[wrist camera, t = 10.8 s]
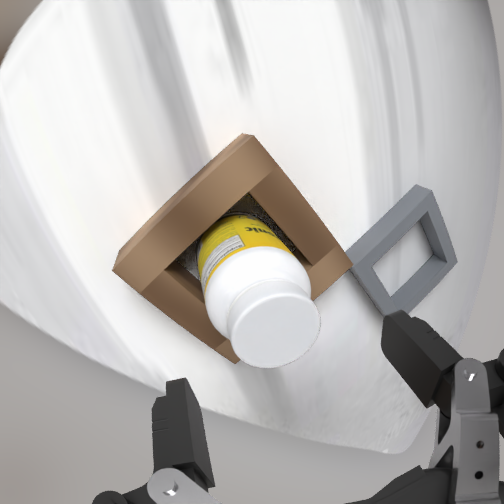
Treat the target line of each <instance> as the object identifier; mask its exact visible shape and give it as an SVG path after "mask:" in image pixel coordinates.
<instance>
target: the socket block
mask: <svg viewBox="0 0 504 504" xmlns="http://www.w3.org/2000/svg"><path fill="white" fill-rule="evenodd" d="M246 193H249V194H250V195H251V196H252V197H253V199H254V200H255V201H256V202H257V203H258V204H259V205H260V207H261V208H262V209H263V210H264V211H265V212H266V213H267V214H268V216H269V217H270V218H271V219H272V220H273V221H274V223H275V224H276V225H277V226H278V227H279V228H280V229H281V231H282V232H283V233H284V234H285V235H286V236H287V238H288V239H289V240H290V241H291V242H292V243H293V244H294V246H295V247H296V248H297V249H296V250H295V251H293V252H292V254H293V255H294V256H295V257H296V258H297V259H298V261H299V262H300V263H301V265H302V266H303V267H304V269H305V270H306V272H307V274H308V277H309V280H310V285H311V300H312V301H313V300H315V299H316V298H317V297H318V296H319V295H320V294H321V293H323V292H324V291H325V290H326V289H327V288H328V287H329V286H331V285H332V284H333V283H334V282H335V281H336V280H337V279H339V278H340V277H341V276H342V275H343V274H344V273H345V272H346V271H347V270H348V269H350V268H351V267H352V266H353V263H352V262H351V260H350V259H349V257H348V256H347V255H346V253H345V252H344V250H343V249H342V248H341V246H340V245H339V244H338V242H337V241H336V239H335V238H334V237H333V235H332V234H331V233H330V231H329V230H328V229H327V227H326V226H325V224H324V223H323V222H322V220H321V219H320V218H319V216H318V215H317V214H316V213H315V211H314V210H313V209H312V207H311V206H310V205H309V203H308V202H307V201H306V199H305V198H304V197H303V196H302V194H301V193H300V192H299V190H298V189H297V188H296V187H295V185H294V184H293V183H292V182H291V180H290V179H289V178H288V177H287V175H286V174H285V173H284V172H283V170H282V169H281V168H280V167H279V165H278V164H277V163H276V162H275V160H274V159H273V158H272V157H271V156H270V154H269V153H268V152H267V151H266V150H265V148H264V147H263V146H262V145H261V144H260V142H259V141H258V140H257V139H256V138H255V136H254V135H248V134H241V135H240V136H239V137H237V138H236V139H235V140H234V141H233V142H232V143H230V144H229V145H228V146H227V147H226V148H225V149H223V150H222V151H221V152H220V153H219V154H218V155H217V156H216V157H214V158H213V159H212V160H211V161H210V162H209V163H208V164H207V165H206V166H204V167H203V168H202V169H201V170H200V171H199V172H198V173H197V174H196V175H195V176H194V177H192V178H191V179H190V180H189V181H188V182H187V183H186V184H185V185H184V186H183V187H182V188H181V189H180V190H179V191H178V192H177V193H176V194H174V195H173V196H172V197H171V198H170V199H169V200H168V201H167V202H166V203H165V204H164V205H163V206H162V207H161V208H160V209H159V210H158V211H157V212H156V213H155V214H154V215H153V216H152V217H151V218H150V219H149V220H148V221H147V222H146V223H145V224H144V225H143V226H142V227H141V228H140V229H139V230H138V231H137V232H136V233H135V235H134V236H133V237H132V238H131V239H130V240H129V241H128V242H127V243H126V244H125V245H124V246H123V247H122V248H121V249H120V250H119V253H118V256H117V258H116V261H115V264H114V267H113V269H112V271H113V272H114V273H115V274H117V275H118V276H119V277H120V278H121V279H123V280H124V281H125V282H126V283H127V284H129V285H130V286H131V287H132V288H133V289H135V290H136V291H137V292H138V293H139V294H141V295H142V296H143V297H144V298H146V299H147V300H148V301H149V302H151V303H152V304H153V305H154V306H156V307H157V308H158V309H160V310H161V311H162V312H163V313H165V314H166V315H167V316H169V317H170V318H171V319H173V320H174V321H175V322H177V323H178V324H179V325H181V326H182V327H183V328H185V329H186V330H187V331H189V332H190V333H191V334H193V335H194V336H195V337H197V338H198V339H200V340H201V341H202V342H204V343H205V344H207V345H208V346H209V347H211V348H212V349H214V350H215V351H216V352H218V353H219V354H221V355H222V356H224V357H225V358H227V359H228V360H229V361H231V362H232V363H234V364H236V363H237V362H238V361H240V360H241V359H240V358H239V357H238V356H237V355H236V354H235V352H234V350H233V348H232V345H231V342H230V340H229V339H228V338H226V337H225V336H223V335H222V334H221V333H220V332H219V331H218V330H217V329H216V328H215V327H214V326H213V324H212V322H211V320H210V318H209V316H208V313H207V309H206V305H205V299H204V295H203V290H202V285H201V282H200V281H199V280H198V279H197V278H195V277H194V276H193V275H192V274H191V273H190V272H189V271H187V270H186V269H185V268H184V267H183V266H182V265H181V264H180V263H178V262H177V261H176V260H175V259H176V258H177V257H178V256H179V255H180V254H181V253H182V252H183V251H184V250H185V249H186V248H187V247H188V246H190V245H191V244H192V243H193V242H194V241H195V240H196V239H197V238H198V237H199V236H200V235H201V234H202V233H203V232H205V231H206V230H207V229H208V228H209V227H210V226H211V225H212V224H213V223H214V222H215V221H216V220H218V219H219V218H220V217H221V216H222V215H223V214H224V213H225V212H226V211H227V210H229V209H230V208H231V207H232V206H233V205H234V204H235V203H236V202H237V201H239V200H240V199H241V198H242V197H243V196H244V195H245V194H246Z"/></svg>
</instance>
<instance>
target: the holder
mask: <svg viewBox="0 0 504 504" xmlns="http://www.w3.org/2000/svg"><path fill="white" fill-rule="evenodd" d="M418 220H420V222H421V224H422V226H423V229H424V231H425V233H426V236H427V238H428V241H429V243H430V245H431V248H432V250H433V253H434V255H433V256H432V257H431V258H430V259H429V260H428V261H427V262H426V263H425V264H424V265H423V266H422V267H421V268H420V269H419V270H418V271H417V272H416V273H415V274H414V275H413V276H412V277H411V278H410V279H409V280H408V281H407V282H406V283H405V284H404V285H403V286H402V287H401V288H400V289H399V290H398V291H397V292H396V293H395V294H394V295H393V296H392V297H390V296H389V294H388V292H387V291H386V289H385V288H384V286H383V284H382V283H381V281H380V280H379V278H378V276H377V275H376V273H375V272H374V270H373V269H372V267H371V266H373V265H374V264H375V263H376V262H377V261H378V260H379V259H380V258H381V257H382V256H383V255H384V254H385V253H386V252H387V251H388V250H389V249H390V248H391V247H392V246H393V245H394V244H395V243H396V242H397V241H399V240H400V239H401V238H402V237H403V236H404V235H405V234H406V233H407V232H408V231H409V230H410V229H411V228H412V227H413V225H414V224H415V223H416V222H417V221H418ZM345 253H346V255H347V256H348V257H349V259H350V260H351V262H352V263H353V266H352V267H351V268H350V270H351V272H352V273H353V274H354V276H355V277H356V279H357V280H358V281H359V283H360V284H361V286H362V287H363V288H364V290H365V291H366V293H367V294H368V296H369V297H370V298H371V300H372V301H373V303H374V304H375V306H376V307H377V309H378V310H379V312H380V313H381V314H382V316H383V317H385V316H386V315H388V314H391V313H393V312H396V311H398V310H404V311H405V312H406V313H407V314H408V313H409V312H410V311H411V310H412V309H413V308H414V307H415V306H416V305H418V304H419V303H420V302H421V301H422V300H423V299H424V297H425V296H426V295H427V294H428V293H429V292H430V291H431V290H432V289H433V288H434V287H435V286H436V285H437V284H438V283H439V282H440V281H441V280H442V279H443V278H444V277H445V275H446V274H447V273H448V272H449V271H450V270H451V269H452V268H453V267H454V266H455V264H456V263H457V258H456V255H455V252H454V249H453V246H452V243H451V240H450V237H449V234H448V231H447V228H446V226H445V223H444V220H443V217H442V215H441V212H440V210H439V207H438V204H437V202H436V199H435V197H434V195H433V192H432V190H429V189H427V188H424V187H421V186H419V185H415V186H414V187H413V188H412V189H411V190H410V191H409V192H408V193H407V194H406V195H405V196H404V197H403V198H402V199H401V200H400V201H399V202H398V203H397V204H396V205H395V206H394V207H393V208H392V209H391V210H390V211H388V212H387V213H386V214H385V215H384V216H383V217H382V218H381V219H380V220H379V221H378V222H377V223H376V224H375V225H374V226H373V227H372V228H371V229H370V230H369V231H367V232H366V233H365V234H364V235H363V236H362V237H361V238H360V239H359V240H358V241H357V242H356V243H355V244H353V245H352V246H351V247H350V248H349V249H348V250H347V251H346V252H345Z"/></svg>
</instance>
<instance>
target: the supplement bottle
mask: <svg viewBox="0 0 504 504" xmlns="http://www.w3.org/2000/svg"><path fill="white" fill-rule="evenodd" d="M196 259H197V264H198V270H199V275H200V280H201V285H202V290H203V295H204V299H205V305H206V309H207V313H208V316H209V318H210V320H211V322H212V324H213V326H214V327H215V328H216V329H217V330H218V331H219V332H220V333H221V334H222V335H223V336H225V337H226V338H228V339H229V340H230V342H231V345H232V348H233V350H234V352H235V354H236V355H237V356H238V357H239V358H240V359H241V360H242V361H243V362H245V363H246V364H248V365H251V366H254V367H258V368H275V367H280V366H284V365H287V364H289V363H291V362H293V361H295V360H297V359H298V358H300V357H301V356H303V355H304V354H305V353H306V352H307V351H308V350H309V349H310V348H311V346H312V345H313V344H314V342H315V341H316V339H317V337H318V334H319V331H320V326H321V318H320V314H319V311H318V309H317V307H316V305H315V304H314V303H313V301H312V300H311V285H310V280H309V277H308V274H307V272H306V270H305V269H304V267H303V266H302V265H301V263H300V262H299V261H298V259H297V258H296V257H295V256H294V255H293V254H292V253H291V251H290V250H289V249H288V248H287V247H286V246H285V245H284V244H283V242H282V241H281V240H280V239H279V238H278V237H277V236H276V235H275V234H274V233H273V232H272V230H271V229H270V228H269V227H268V226H267V225H266V224H265V223H264V222H263V221H262V220H260V219H259V218H257V217H255V216H253V215H251V214H247V213H241V212H234V213H228V214H225V215H222V216H221V217H220V218H219V219H218V220H216V221H215V222H214V223H213V224H212V225H211V226H210V227H209V228H208V229H207V230H206V231H205V232H203V233H202V234H201V235H200V237H199V239H198V242H197V247H196Z"/></svg>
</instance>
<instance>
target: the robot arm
mask: <svg viewBox="0 0 504 504" xmlns="http://www.w3.org/2000/svg"><path fill="white" fill-rule="evenodd" d="M381 348H382V351H383V353H384V355H385V357H386V358H387V359H388V360H389V362H390V363H391V364H392V365H393V367H394V368H395V369H396V370H397V372H398V373H399V374H400V375H401V377H402V378H403V379H404V380H405V382H406V383H407V384H408V385H409V387H410V388H411V389H412V390H413V392H414V393H415V394H416V396H417V397H418V398H419V399H420V401H421V402H422V403H423V404H424V406H425V407H426V408H429V407H430V406H432V405H434V404H436V405H437V406H438V409H437V419H436V432H435V443H434V450H433V454H432V456H431V459H430V463H429V467H428V469H424V470H422V468H421V467H420V465H419V466H417V467H415V468H413V469H412V470H410V471H408V472H406V473H404V474H403V475H401V476H399V477H397V478H395V479H394V480H393V481H391V482H390V483H389V484H388V485H387V486H385V487H384V488H383V489H382V490H380V491H379V492H378V493H377V494H375V495H374V496H373V497H371V498H369V499H366V500H362V501H357V502H352V503H346V504H504V482H503V481H499V432H500V434H501V435H502V437H503V438H504V349H503V350H502V351H501V352H500V355H499V357H498V359H495V360H491V361H488V362H484V363H481V362H480V361H478V360H476V359H473V358H465V359H464V358H463V357H461V356H460V355H459V354H458V353H457V352H456V351H455V350H454V349H453V348H452V347H451V346H450V345H449V344H448V343H447V342H446V341H445V340H444V339H443V338H442V337H440V335H439V334H438V333H437V332H436V331H434V330H433V328H432V327H431V326H430V325H429V324H428V323H427V322H425V321H423V320H421V319H419V318H417V317H413V318H411V317H410V316H409V315H408V314H407V313H406V312H405V311H404V310H398V311H396V312H393V313H391V314H388V315H386V316H385V317H384V320H383V329H382V338H381ZM152 422H153V423H152V431H153V433H152V437H153V458H154V471H153V474H152V476H151V477H150V479H149V481H148V482H147V483H146V484H145V485H143V486H142V487H140V488H137V489H135V490H133V491H130V492H128V493H125V494H122V495H121V494H119V493H118V492H115V491H105V492H102V493H100V494H99V495H97V496H96V497H95V499H94V500H93V503H92V504H222V503H221V502H219V501H218V500H217V499H215V498H214V497H213V496H211V495H210V494H209V493H208V488H211V487H215V483H214V478H213V473H212V468H211V463H210V457H209V452H208V447H207V442H206V436H205V430H204V424H203V418H202V413H201V409H200V406H199V403H198V401H197V399H196V397H195V395H194V393H193V391H192V389H191V387H190V384H189V382H188V380H187V379H186V378H181V379H176V380H172V381H167V382H166V396H163V397H158V398H156V401H155V403H154V405H153V408H152Z"/></svg>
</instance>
